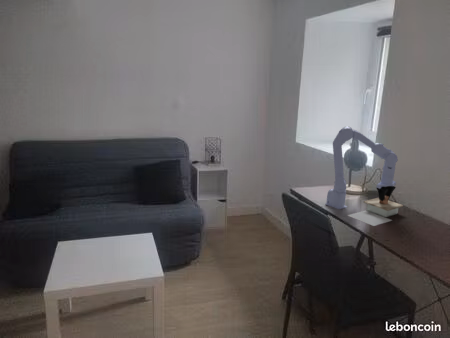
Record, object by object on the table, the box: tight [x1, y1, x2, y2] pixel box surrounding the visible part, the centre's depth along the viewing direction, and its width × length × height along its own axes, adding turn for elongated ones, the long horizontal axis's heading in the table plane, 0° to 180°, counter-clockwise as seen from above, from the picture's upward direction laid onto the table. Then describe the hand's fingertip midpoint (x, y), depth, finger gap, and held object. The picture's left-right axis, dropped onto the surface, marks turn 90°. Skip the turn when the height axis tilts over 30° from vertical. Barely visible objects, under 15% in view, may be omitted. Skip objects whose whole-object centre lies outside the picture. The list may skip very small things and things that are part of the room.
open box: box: [366, 204, 399, 218], centre depth 184 cm, size 11×11×4 cm
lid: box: [363, 195, 404, 211], centre depth 183 cm, size 14×14×5 cm
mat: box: [346, 209, 393, 227], centre depth 176 cm, size 16×16×1 cm
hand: (384, 199), depth 183 cm, fingers open, 4 cm apart
